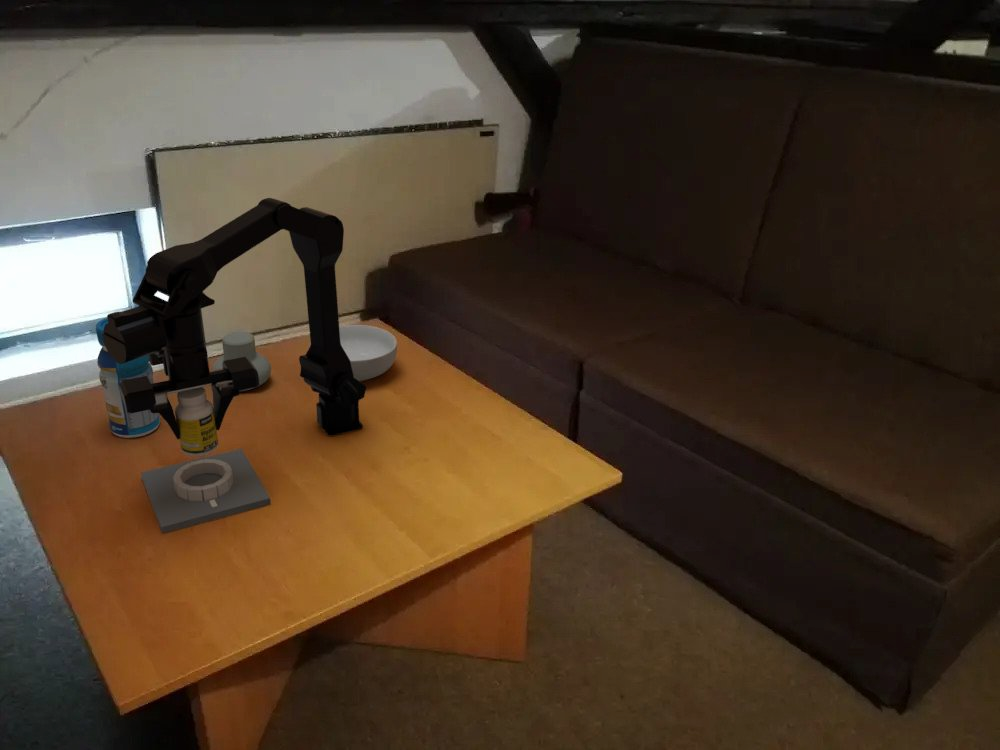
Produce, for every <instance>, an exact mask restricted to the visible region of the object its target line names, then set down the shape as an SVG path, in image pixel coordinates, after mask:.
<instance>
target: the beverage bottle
mask: <svg viewBox="0 0 1000 750" xmlns="http://www.w3.org/2000/svg"><path fill="white" fill-rule="evenodd" d="M107 323H108V318H107V317H105V318H103V319H101V320H99V321H98V322H97V323H96V325H95V331H96V332H95V333H96V337H97V342H98V343H99V346H101V349H100V350H99V354H98V356H97V361H96V363H97V366H98V368H99V369H100V371H99V374H98V377H99V378H98V379H99V382H100V384H101V387H102V391H103V398H104V402H105V406H106V407H105V408H106V412H107V417H108V418H107V419H108V421H109V422H108V425H109V429H110V432H111V433H113V434H114V435H115V436H117V437H119V438H126V439H130V438H139V437H143V436H147V435H149V434H151V433H152V432H154V431H156V430H157V429H158V427H159V426H160V423H161V419H160V414H159V413H151V412H150V410H146V411H141V412H136V413H128V412H127V410H126V408H125V405H124V403H123V400H122V397H121V393H120V388H119V385H120V384H121V382H122V381H123V380H127V379H133V378H138V377H143V376H147V377H148V379H149V381H150V383H151V384H153V383H155V382H154V370H153V367H152V365H151V364H150V362H149V357H148V355H146V356H143V357H140V358H137V359H134V360H132V361H129V362H126V363H123V364H119V363H117V362H116V361H115V360H113V358H112V357H111V356H110V354H109V353H108V351H107V349H106V347H105V344H104V341H103V336H102V334H103V333H104V326H105V324H107Z"/></svg>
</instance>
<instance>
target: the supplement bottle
mask: <svg viewBox="0 0 1000 750" xmlns="http://www.w3.org/2000/svg"><path fill="white" fill-rule="evenodd" d="M176 394H177V403H178V404H177V405H176V406H175V410H174V415H175V419H176V422H177V425H178V429H179V432H180V439H179V445H180V449H181V451H182V453H183V454H185V455H186V456H188V457H196V458H197V457H206V456H207V455H210V454H212V453H213V452H214V451H216V450H217V449H218V446H219V439H218V437H219V436H218V430H216V424H215V417H214V411H213V403H212V402H211V401H209V400H208V399H207V393H206V389H205V388H204V387H201V388H196V389H191V390H186V391H181V392H176Z"/></svg>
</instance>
